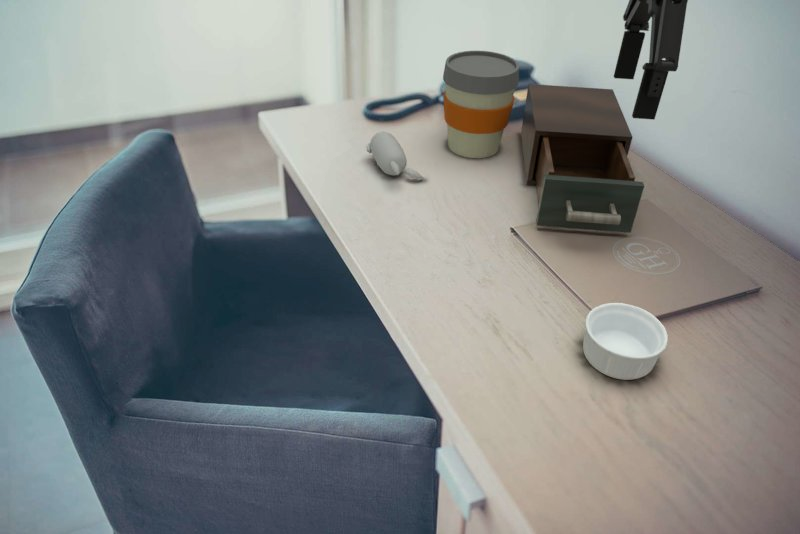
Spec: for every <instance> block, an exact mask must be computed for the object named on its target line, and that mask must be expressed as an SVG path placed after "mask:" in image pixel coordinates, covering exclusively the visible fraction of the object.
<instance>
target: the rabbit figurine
mask: <svg viewBox="0 0 800 534" xmlns="http://www.w3.org/2000/svg"><path fill="white" fill-rule="evenodd" d="M369 141H370V142H369V143H368V144H366V152H367V153H368V154H372V155H371V159H372V160H374V161H375V162H376V165H377V166H378V167H379V168H380V169H381V171H382V172H383V173H385V175H388V176H393V177H395V176H399V175H400V174H401V173H402V172H403V171H404V173H405V174H406V175H407V176H408V177H410V178H411V179H414V180H417V181H421V180H423V179H424V177H423V176H422V174H420V173H419V172H418V171H416V170H415V169H413V168H411V167H407V156H406V153H405V152H404V149H403V148H402V146H401V144H400V143H399V140H398V139H397V138H396V137H395V136H394V135H393V134H392V133H391V132H388V131H385V130H383V131H378V132H377V133H375V134H374V135H373V136H372V137H371V139H370V140H369Z"/></svg>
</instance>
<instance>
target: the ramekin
mask: <svg viewBox="0 0 800 534" xmlns="http://www.w3.org/2000/svg"><path fill="white" fill-rule="evenodd" d="M584 328H585V330H584V336H583V344H582V349H583V354H584V356H585V358H586V360H587V361H588V362H589V364H590V365H591V366H592V367H593V368H594V369H595V370H597V371H598V372H600V373H602V374H603V375H605V376H608V377H610V378H613V379H618V380H624V381H625V380H626V381H628V380H629V381H630V380H631V381H632V380H637V379H640V378H643V377H646V376H647V375H649V374H650V372H651V371H653V369H654V367H655V365H656V363H658V362H657V361H658V360H659V358H660V356H661V355H662V354H663V353H664V351H665V349H666V348H667V346H668V341H669V336H668V332H667V329H666V327H665V326H664V324H663V323H662V322H661V321H660V320H659V319H658V318H657V317H656V316H655V314H654V315H653V313H651V312H649V311H647V310H645V309H644V308H641V307H639V306H636V305H632V304H629V303H624V302H607V303H602V304H600V305H597V306H595V307H594V308H592V309H591V310H590V311H589V312H588V313H587V315H586V317H585V321H584Z"/></svg>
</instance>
